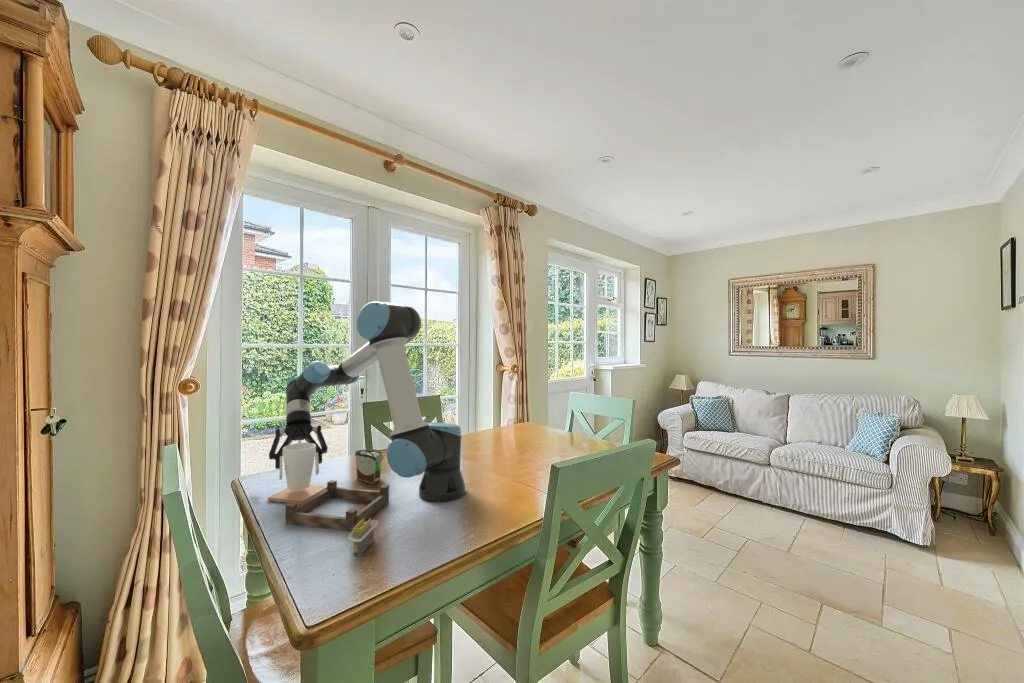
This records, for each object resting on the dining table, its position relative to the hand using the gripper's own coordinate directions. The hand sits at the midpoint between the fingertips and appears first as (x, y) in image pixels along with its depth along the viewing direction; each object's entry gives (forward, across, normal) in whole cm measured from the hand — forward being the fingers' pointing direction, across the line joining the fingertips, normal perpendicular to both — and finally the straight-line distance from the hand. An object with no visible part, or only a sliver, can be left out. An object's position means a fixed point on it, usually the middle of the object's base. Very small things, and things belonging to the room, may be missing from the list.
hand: (299, 474), depth 125 cm
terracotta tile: (+3, 0, -8) cm, 8 cm away
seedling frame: (+17, -10, +6) cm, 20 cm away
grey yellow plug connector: (+34, -12, +22) cm, 42 cm away
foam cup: (+1, 0, -6) cm, 6 cm away
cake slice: (0, -24, -11) cm, 26 cm away
